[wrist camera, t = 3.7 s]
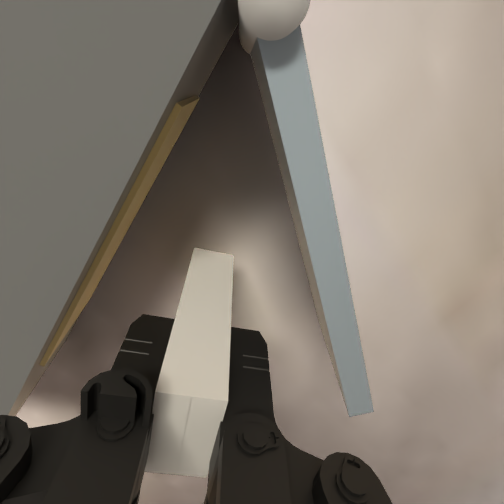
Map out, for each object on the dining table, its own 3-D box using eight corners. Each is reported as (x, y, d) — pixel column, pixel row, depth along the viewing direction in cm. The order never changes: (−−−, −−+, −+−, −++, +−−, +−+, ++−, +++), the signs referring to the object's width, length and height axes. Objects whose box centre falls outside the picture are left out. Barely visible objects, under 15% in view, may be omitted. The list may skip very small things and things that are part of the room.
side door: (234, 19, 11) (228, -38, 5) (271, 6, 11) (302, -65, 5) (312, 314, 16) (347, 432, 11) (337, 308, 16) (386, 424, 11)
